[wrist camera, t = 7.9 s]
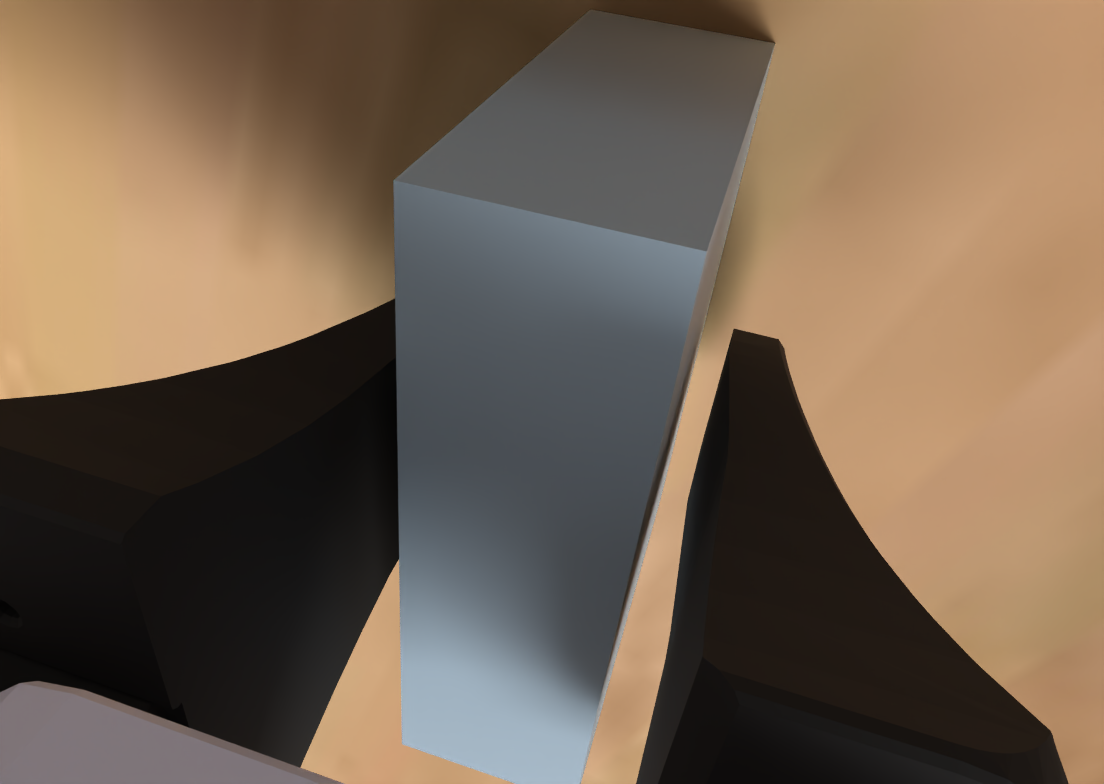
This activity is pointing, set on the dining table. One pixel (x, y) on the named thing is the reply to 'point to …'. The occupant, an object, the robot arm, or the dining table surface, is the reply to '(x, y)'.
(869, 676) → the robot arm
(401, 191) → the block
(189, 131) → the dining table surface
